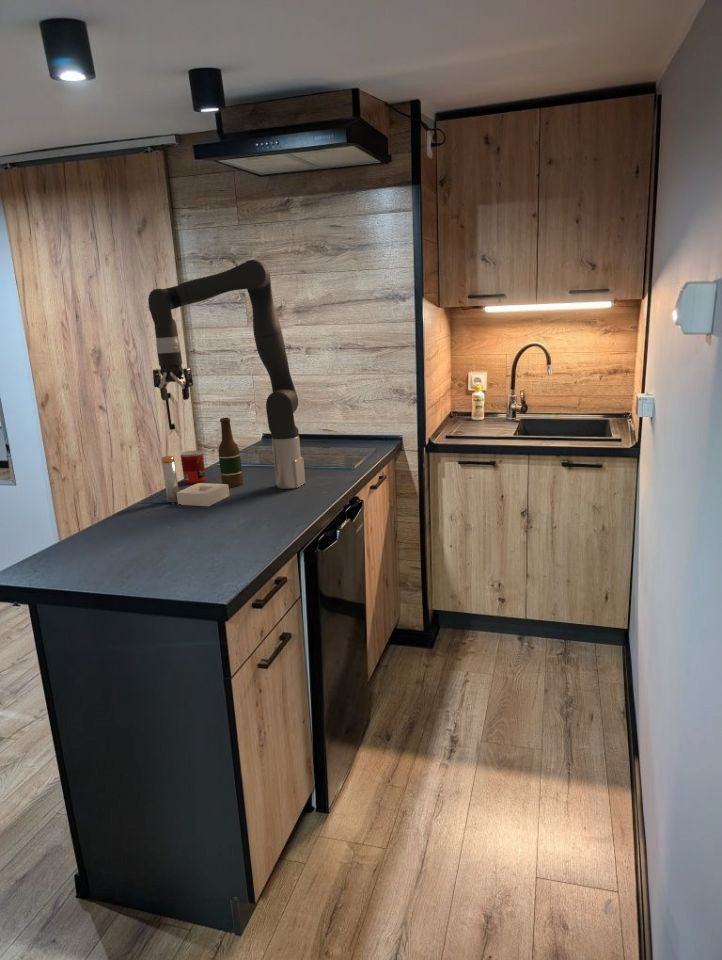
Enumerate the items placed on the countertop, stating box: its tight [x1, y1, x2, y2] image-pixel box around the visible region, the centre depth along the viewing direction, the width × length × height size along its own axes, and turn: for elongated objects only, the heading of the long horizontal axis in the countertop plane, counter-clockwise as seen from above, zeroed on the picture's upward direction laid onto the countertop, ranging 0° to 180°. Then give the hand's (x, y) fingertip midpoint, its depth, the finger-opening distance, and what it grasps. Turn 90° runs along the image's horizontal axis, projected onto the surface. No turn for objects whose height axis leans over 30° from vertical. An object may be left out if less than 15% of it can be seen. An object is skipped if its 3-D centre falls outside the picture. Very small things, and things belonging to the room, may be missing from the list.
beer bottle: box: [217, 417, 244, 488], centre depth 238 cm, size 8×8×24 cm
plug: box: [161, 455, 180, 503], centre depth 223 cm, size 4×4×15 cm
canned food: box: [180, 450, 207, 485], centre depth 247 cm, size 8×8×11 cm
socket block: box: [177, 482, 230, 507], centre depth 223 cm, size 12×12×4 cm
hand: (175, 399), depth 228 cm, fingers open, 8 cm apart
